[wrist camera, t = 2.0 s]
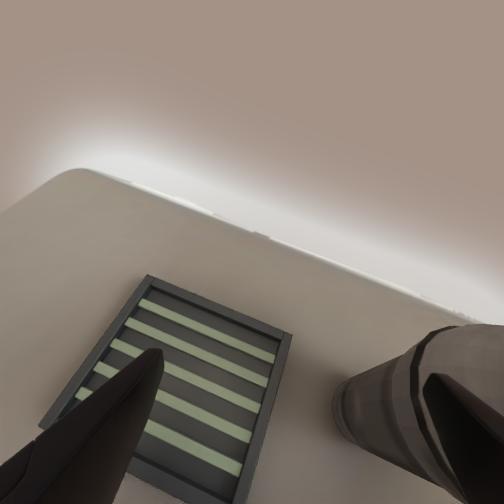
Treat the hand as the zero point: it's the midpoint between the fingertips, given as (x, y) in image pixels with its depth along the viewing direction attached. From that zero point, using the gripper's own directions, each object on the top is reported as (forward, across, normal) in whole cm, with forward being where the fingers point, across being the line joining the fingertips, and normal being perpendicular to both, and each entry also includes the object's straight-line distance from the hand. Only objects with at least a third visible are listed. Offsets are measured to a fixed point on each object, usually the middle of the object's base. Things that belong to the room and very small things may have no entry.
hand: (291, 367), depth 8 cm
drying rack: (+7, +7, +10) cm, 14 cm away
